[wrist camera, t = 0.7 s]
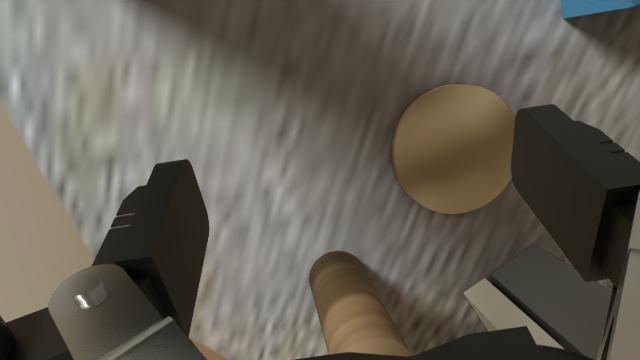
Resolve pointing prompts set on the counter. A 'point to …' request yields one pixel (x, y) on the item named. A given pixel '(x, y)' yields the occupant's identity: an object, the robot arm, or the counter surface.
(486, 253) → the counter surface
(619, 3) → the perfume bottle
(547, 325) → the box
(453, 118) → the stand
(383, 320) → the brown wooden cylinder
